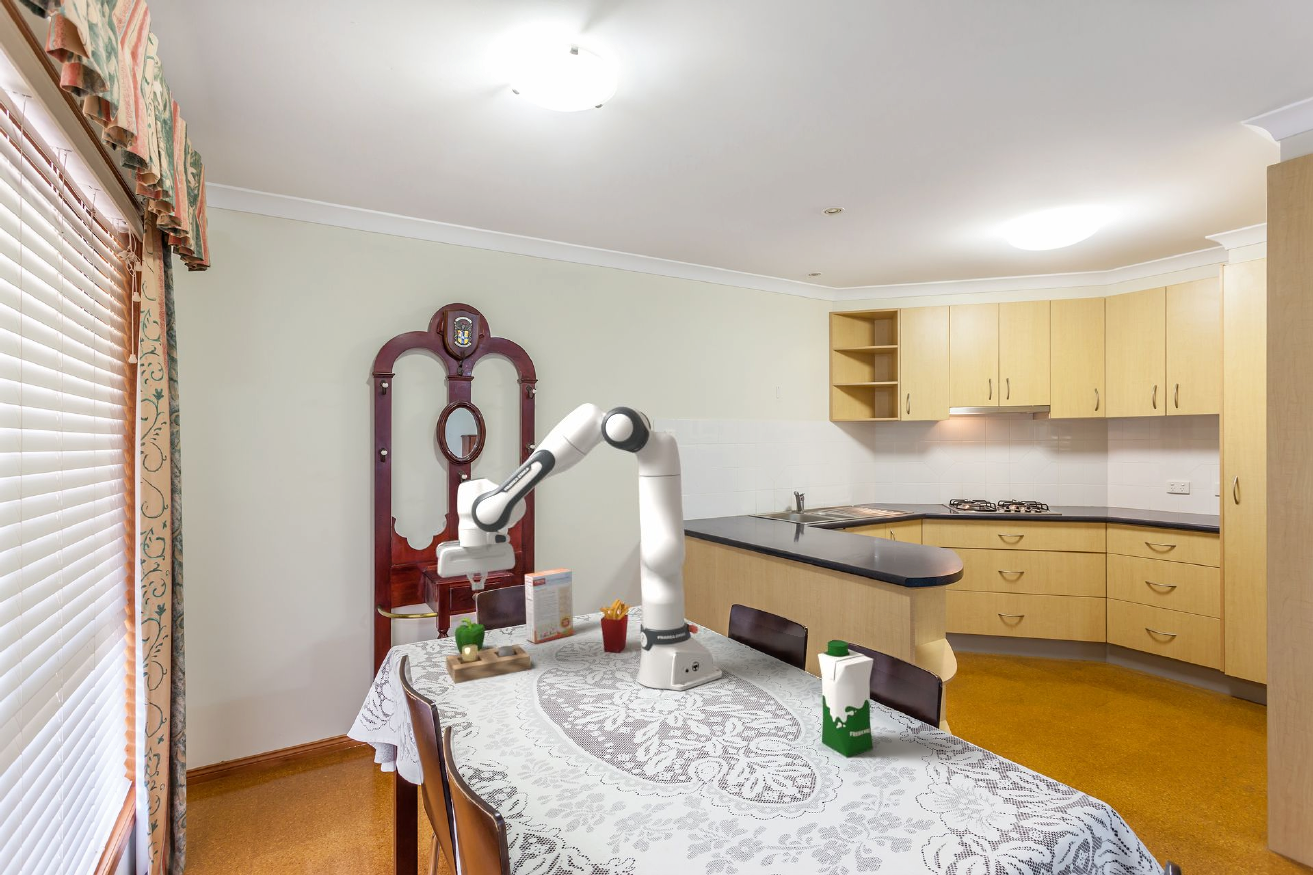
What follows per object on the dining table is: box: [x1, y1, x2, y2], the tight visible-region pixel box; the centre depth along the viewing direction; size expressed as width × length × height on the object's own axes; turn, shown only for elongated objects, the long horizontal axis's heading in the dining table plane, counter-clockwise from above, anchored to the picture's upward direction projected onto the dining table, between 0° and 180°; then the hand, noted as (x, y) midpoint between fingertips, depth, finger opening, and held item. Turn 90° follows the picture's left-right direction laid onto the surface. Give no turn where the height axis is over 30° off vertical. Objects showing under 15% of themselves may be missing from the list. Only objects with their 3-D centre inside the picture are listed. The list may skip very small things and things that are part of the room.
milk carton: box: [817, 640, 874, 758], centre depth 132 cm, size 9×9×20 cm
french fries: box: [599, 598, 632, 654], centre depth 195 cm, size 9×8×15 cm
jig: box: [445, 644, 531, 684], centre depth 180 cm, size 20×12×5 cm, turn 118°
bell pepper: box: [454, 618, 486, 654], centre depth 194 cm, size 8×8×10 cm
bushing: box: [462, 645, 478, 664], centre depth 178 cm, size 4×4×7 cm
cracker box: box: [524, 567, 574, 645], centre depth 208 cm, size 14×6×21 cm, turn 128°
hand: (478, 589), depth 178 cm, fingers closed
